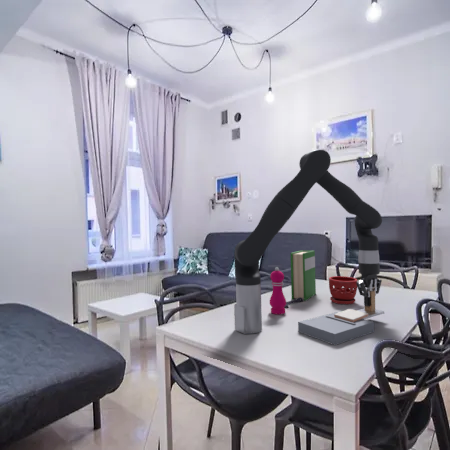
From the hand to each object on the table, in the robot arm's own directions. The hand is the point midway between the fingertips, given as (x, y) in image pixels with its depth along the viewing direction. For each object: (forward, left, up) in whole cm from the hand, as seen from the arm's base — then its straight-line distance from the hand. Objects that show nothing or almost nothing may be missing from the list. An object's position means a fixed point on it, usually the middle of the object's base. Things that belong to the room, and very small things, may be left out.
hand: (369, 305), depth 124 cm
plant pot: (+17, +25, -6) cm, 31 cm away
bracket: (-4, +40, -7) cm, 41 cm away
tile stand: (-21, 0, -6) cm, 22 cm away
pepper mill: (-20, +31, -6) cm, 37 cm away
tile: (-12, 0, -2) cm, 12 cm away
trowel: (-3, 0, -3) cm, 4 cm away
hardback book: (+12, +46, -6) cm, 48 cm away
